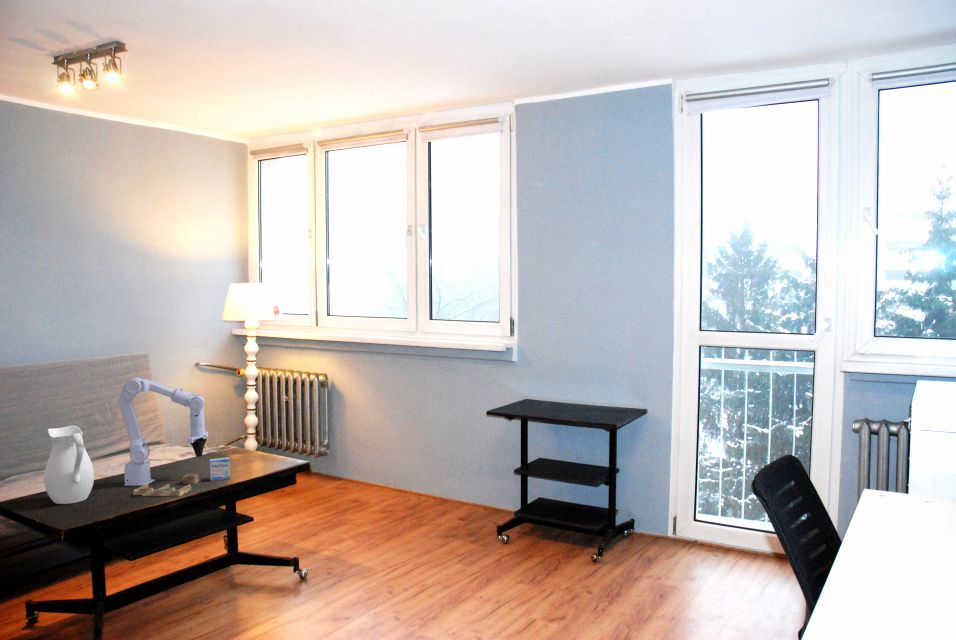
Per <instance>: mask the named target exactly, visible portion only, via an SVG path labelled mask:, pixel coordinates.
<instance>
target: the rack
mask: <svg viewBox="0 0 956 640" xmlns="http://www.w3.org/2000/svg"><path fill="white" fill-rule="evenodd" d="M189 490H190V491H192V485H191V484H188V485H185V486H183V487H181V488H180V489H176V487H171V485H170V483H167V484H166V485H163V486H161V487H159V488H158V489H154V488H153V487H149V484H145V485H140V486H139V487H138V488H135V489H133V491H132V492H133V496H134V495H142V496H141V497H181V496H183V495H184V493H185V494H186V493H188V492H190V491H189ZM146 495H147V496H146Z"/></svg>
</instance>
